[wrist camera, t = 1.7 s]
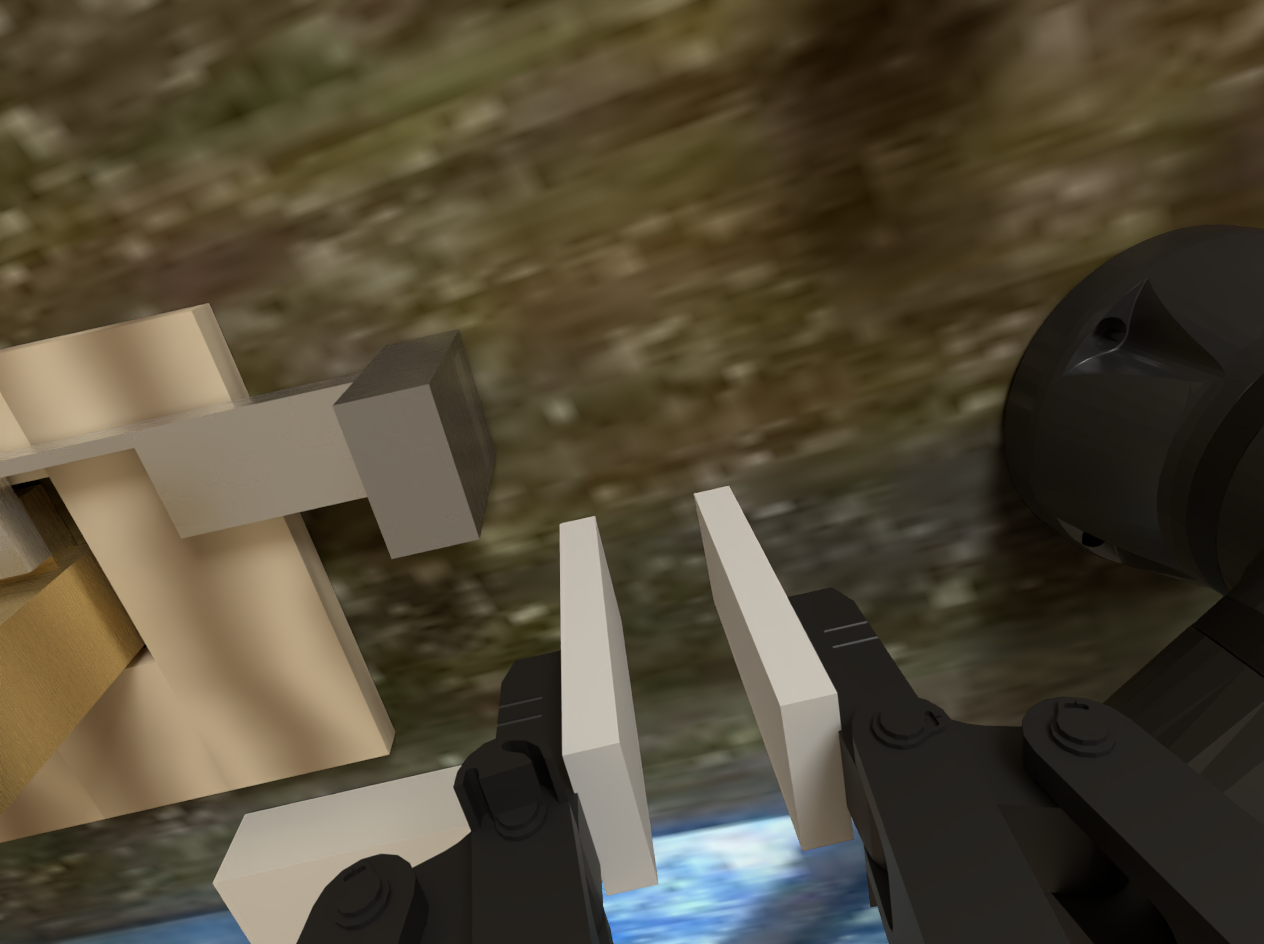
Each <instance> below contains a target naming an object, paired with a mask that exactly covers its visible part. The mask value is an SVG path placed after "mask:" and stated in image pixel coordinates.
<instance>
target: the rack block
mask: <svg viewBox="0 0 1264 944" xmlns="http://www.w3.org/2000/svg"><path fill="white" fill-rule="evenodd" d="M461 766H462V765H460V766H455V767H451V768H446V769H442V770H438V771H433V772H429V773H424V774H420V775H416V776H411V777H407V778H402V779H398V780H394V781H389V782H385V783H380V784H376V785H371V786H367V787H363V788H358V789H354V790H349V791H345V792H341V793H336V794H332V795H327V796H323V797H319V798H314V799H310V800H305V801H301V802H297V803H292V804H288V805H283V806H279V807H275V808H270V809H266V810H261V811H257V812H253V813H248V814H245V815H244V818H243V820H242V822H241V824H240V826H239V828H238V830H237V832H236V835H235V837H234V839H233V841H232V843H231V845H230V847H229V849H228V852H227V854H226V856H225V858H224V860H223V862H222V864H221V866H220V869H219V871H218V873H217V875H216V877H215V879H214V881H213V885H214V886H215V888H216V889H217V891H218V893H219V894H220V896H221V897H222V899H223V900H224V902H225V904H226V905H227V907H228V908H229V910H230V911H231V913H232V915H233V916H234V918H235V919H236V921H237V922H238V924H239V926H240V927H241V929H242V930H243V932H244V934H245V935H246V937H247V938H248V940H249V941H250V943H251V944H296V943H297V941H298V939H299V936H300V934H301V932H302V930H303V927H304V925H305V923H306V921H307V918H308V916H309V914H310V912H311V909H312V907H313V905H314V904H315V902H316V901H317V899H318V897H319V896H320V894H321V893H322V891H323V889H324V888H325V887H326V886H327V885H328V884H329V883H330V882H331V881H332V880H333V879H334V878H335V877H336V876H337V875H338V874H339V873H340V872H341V871H342V870H344V869H346V868H347V867H349V866H351V865H352V864H354V863H356V862H357V861H359V860H361V859H364V858H367V857H371V856H374V855H378V854H392V855H399V856H400V857H402V858H403V859H405V860H406V861H408V862H409V863H410V864H411V866H412V868H413V867H415V866H417V865H419V864H421V863H423V862H424V861H426V860H428V859H430V858H432V857H434V856H436V855H438V854H440V853H442V852H444V851H445V850H447V849H449V848H450V847H452V846H453V845H455V844H456V843H458V842H459V841H461V840H462V839H463V838H464V837H465V836H466V835H467V834H468V833H470V832H471V830H470V827H469V825H468V822H467V820H466V818H465V815H464V813H463V810H462V808H461V805H460V803H459V800H458V798H457V796H456V793H455V791H454V788H453V786H454V782H455V778H456V774H457V771H458V770H459V768H460V767H461Z"/></svg>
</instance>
